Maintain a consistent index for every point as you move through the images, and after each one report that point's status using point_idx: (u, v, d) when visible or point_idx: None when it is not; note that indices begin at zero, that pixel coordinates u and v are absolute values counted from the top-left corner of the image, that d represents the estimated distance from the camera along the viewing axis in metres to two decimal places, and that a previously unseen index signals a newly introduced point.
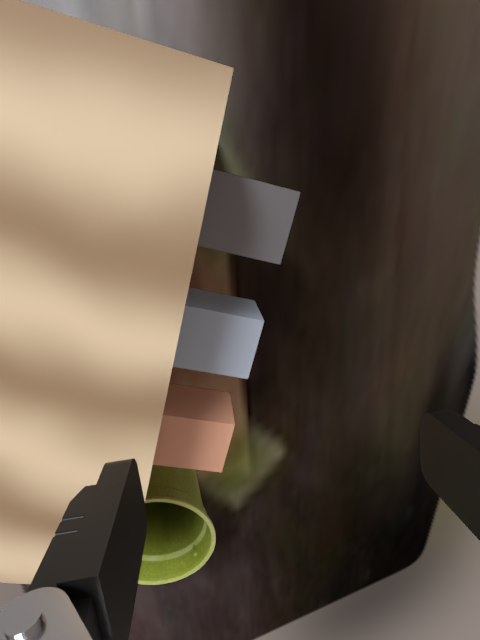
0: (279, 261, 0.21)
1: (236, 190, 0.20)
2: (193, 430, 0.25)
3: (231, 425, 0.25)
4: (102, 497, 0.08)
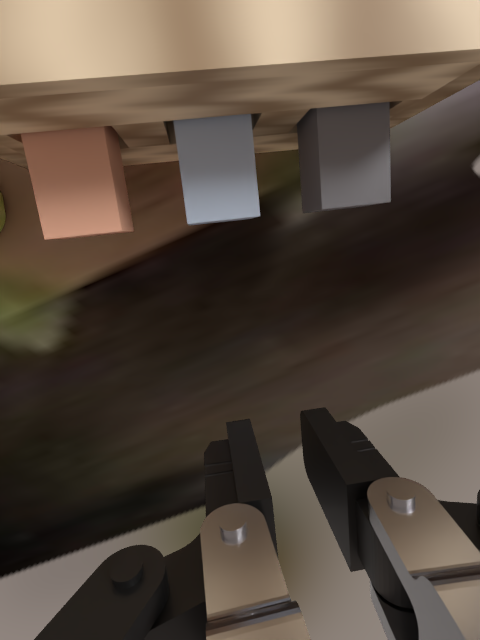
0: (324, 207, 0.21)
1: (376, 139, 0.20)
2: (95, 180, 0.19)
3: (119, 226, 0.20)
4: (240, 446, 0.09)
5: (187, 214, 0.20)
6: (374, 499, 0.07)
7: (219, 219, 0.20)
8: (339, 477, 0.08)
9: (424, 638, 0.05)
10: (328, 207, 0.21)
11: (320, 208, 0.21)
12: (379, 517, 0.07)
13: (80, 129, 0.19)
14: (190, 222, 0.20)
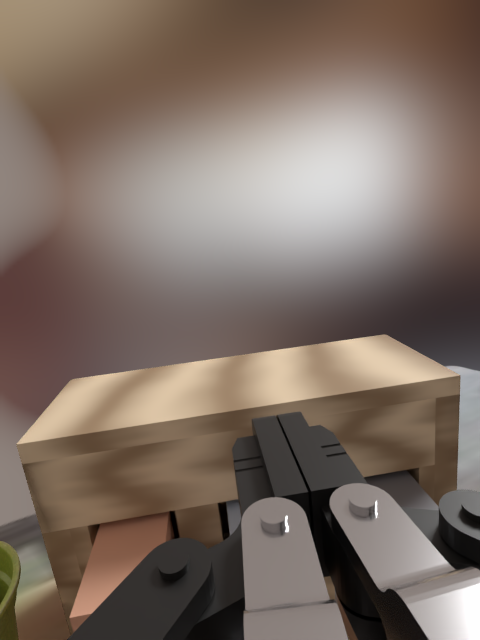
0: None
1: (415, 496, 0.22)
2: None
3: None
4: (269, 441, 0.10)
5: None
6: (337, 509, 0.07)
7: None
8: (305, 483, 0.08)
9: None
10: None
11: None
12: (338, 525, 0.07)
13: (148, 521, 0.22)
14: None
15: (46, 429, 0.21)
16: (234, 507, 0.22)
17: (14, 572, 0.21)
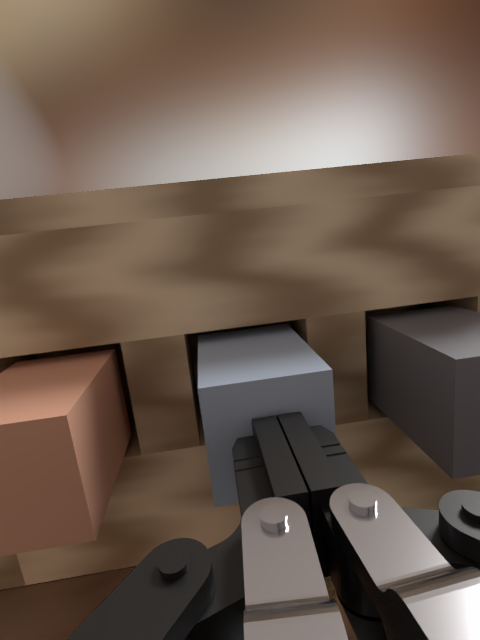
0: (459, 357, 0.11)
1: (478, 320, 0.14)
2: (66, 381, 0.12)
3: (66, 411, 0.10)
4: (269, 441, 0.10)
5: (200, 382, 0.11)
6: (336, 509, 0.07)
7: (257, 379, 0.11)
8: (305, 483, 0.08)
9: None
10: (466, 356, 0.11)
11: (454, 367, 0.11)
12: (338, 525, 0.07)
13: (81, 358, 0.15)
14: (203, 387, 0.11)
15: None
16: (208, 339, 0.16)
17: None
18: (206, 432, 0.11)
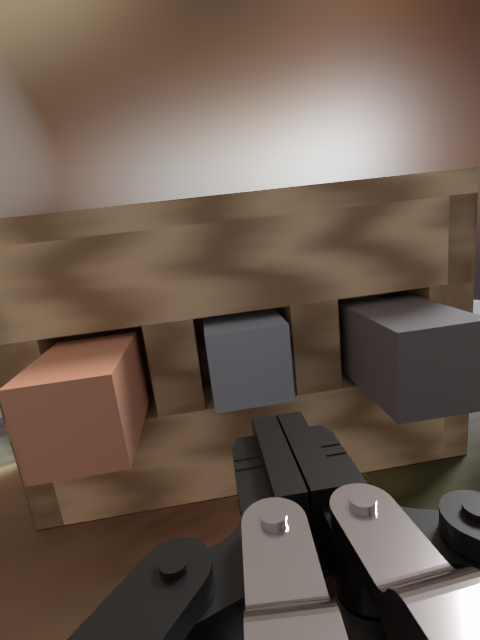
0: (400, 331, 0.15)
1: (425, 305, 0.18)
2: (104, 354, 0.16)
3: (110, 372, 0.14)
4: (269, 441, 0.10)
5: (205, 332, 0.18)
6: (336, 509, 0.07)
7: (241, 330, 0.18)
8: (305, 483, 0.08)
9: None
10: (405, 330, 0.15)
11: (396, 339, 0.15)
12: (339, 525, 0.07)
13: (110, 338, 0.19)
14: (208, 334, 0.17)
15: None
16: None
17: None
18: (209, 363, 0.18)
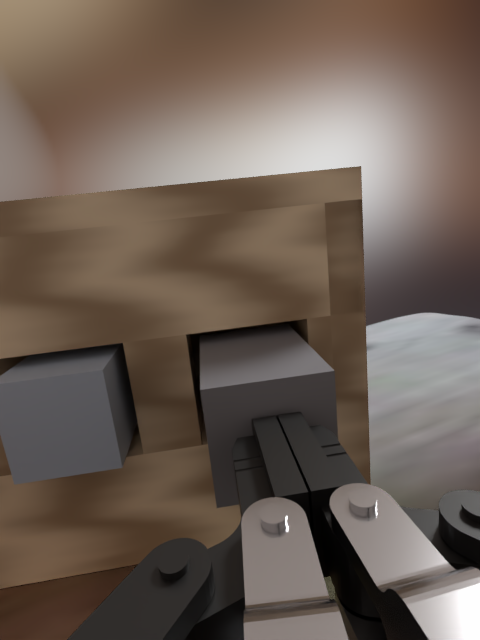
0: (205, 387, 0.11)
1: (285, 342, 0.14)
2: None
3: None
4: (269, 441, 0.10)
5: None
6: (336, 509, 0.07)
7: (38, 378, 0.13)
8: (305, 483, 0.08)
9: None
10: (212, 386, 0.11)
11: (201, 397, 0.11)
12: (338, 524, 0.07)
13: None
14: None
15: None
16: None
17: None
18: None
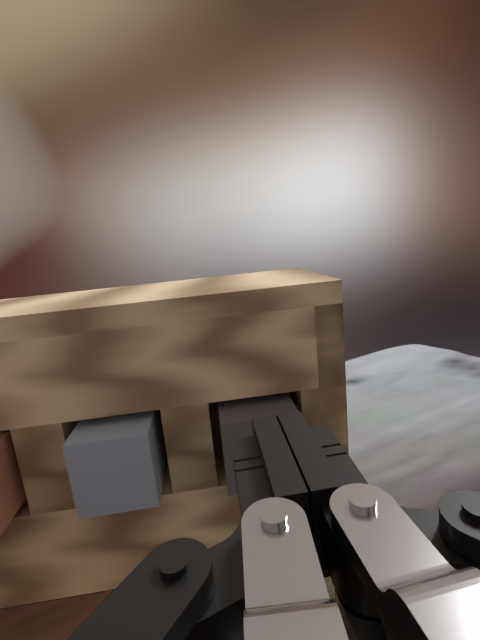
0: (223, 422, 0.18)
1: None
2: None
3: None
4: (269, 441, 0.10)
5: (67, 441, 0.18)
6: (336, 509, 0.07)
7: (100, 440, 0.18)
8: (305, 483, 0.08)
9: None
10: (227, 422, 0.18)
11: (220, 428, 0.18)
12: (338, 525, 0.07)
13: None
14: (66, 445, 0.18)
15: None
16: None
17: None
18: (69, 472, 0.18)
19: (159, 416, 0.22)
